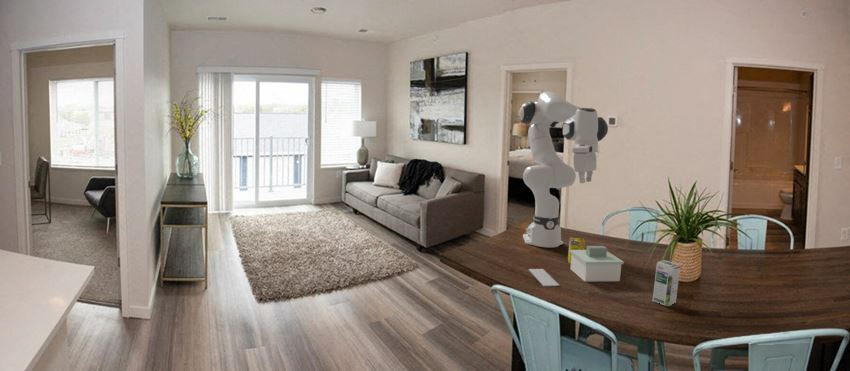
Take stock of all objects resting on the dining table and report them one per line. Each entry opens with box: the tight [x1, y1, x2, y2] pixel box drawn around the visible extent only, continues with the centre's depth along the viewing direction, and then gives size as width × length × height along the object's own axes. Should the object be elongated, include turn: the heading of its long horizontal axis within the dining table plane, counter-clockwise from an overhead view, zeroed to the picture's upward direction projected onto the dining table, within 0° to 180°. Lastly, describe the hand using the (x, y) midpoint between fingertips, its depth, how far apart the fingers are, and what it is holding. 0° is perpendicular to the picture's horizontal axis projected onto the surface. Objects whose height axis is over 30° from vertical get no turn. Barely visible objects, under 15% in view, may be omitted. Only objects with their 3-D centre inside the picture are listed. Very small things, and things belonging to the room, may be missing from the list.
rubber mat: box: [528, 268, 562, 287], centre depth 190 cm, size 18×16×1 cm
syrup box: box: [651, 259, 682, 307], centre depth 167 cm, size 6×6×14 cm
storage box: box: [570, 254, 622, 283], centre depth 191 cm, size 14×14×8 cm
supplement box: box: [567, 237, 586, 265], centre depth 206 cm, size 6×6×11 cm
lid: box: [570, 245, 625, 265], centre depth 190 cm, size 15×15×6 cm
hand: (585, 182), depth 194 cm, fingers open, 8 cm apart
